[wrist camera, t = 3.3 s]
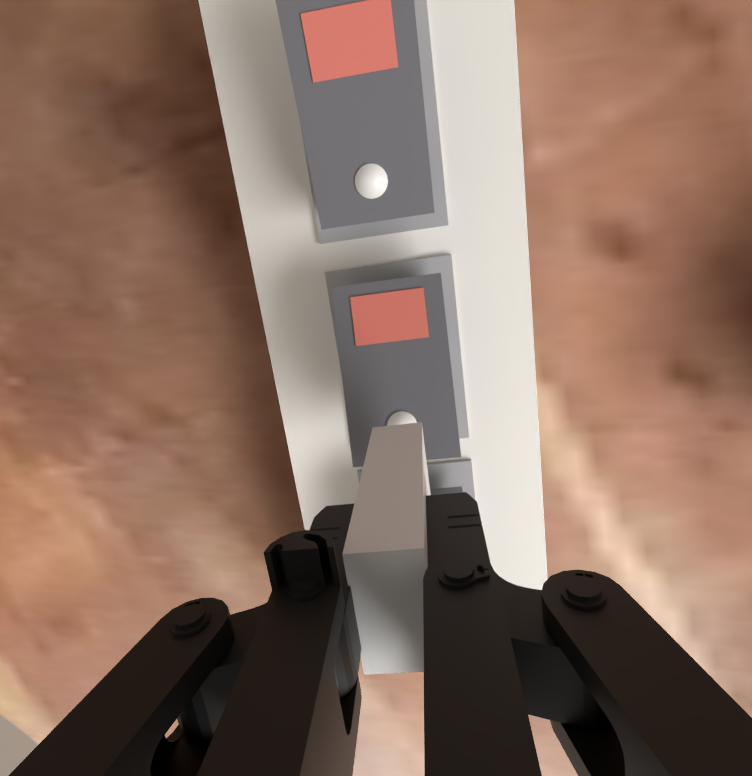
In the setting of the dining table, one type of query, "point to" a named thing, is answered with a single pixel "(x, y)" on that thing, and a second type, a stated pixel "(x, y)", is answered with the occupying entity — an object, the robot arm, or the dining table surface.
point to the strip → (398, 260)
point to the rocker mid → (396, 362)
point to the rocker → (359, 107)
